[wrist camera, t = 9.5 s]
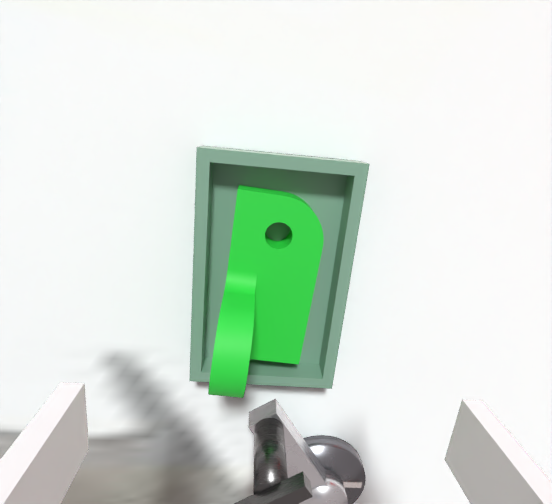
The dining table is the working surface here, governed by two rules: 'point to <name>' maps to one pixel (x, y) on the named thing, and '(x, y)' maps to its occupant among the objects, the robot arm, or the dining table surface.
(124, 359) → the dining table surface
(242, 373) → the mechanical part
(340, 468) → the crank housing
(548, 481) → the robot arm
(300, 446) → the crank
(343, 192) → the tray
